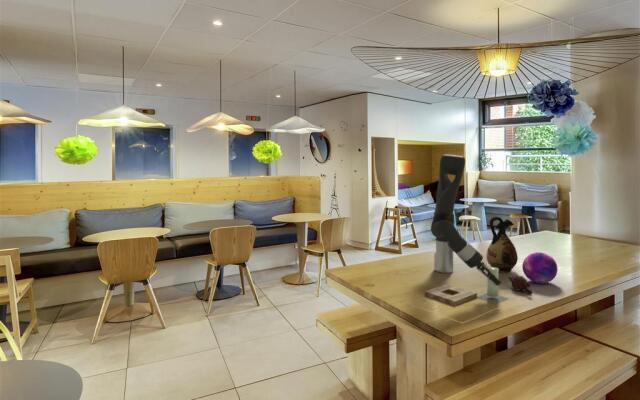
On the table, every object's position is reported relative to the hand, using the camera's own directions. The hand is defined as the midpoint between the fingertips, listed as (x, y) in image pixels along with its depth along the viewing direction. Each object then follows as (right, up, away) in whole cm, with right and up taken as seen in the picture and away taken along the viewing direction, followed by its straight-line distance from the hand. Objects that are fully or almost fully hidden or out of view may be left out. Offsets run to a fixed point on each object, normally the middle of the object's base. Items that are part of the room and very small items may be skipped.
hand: (497, 282), depth 166 cm
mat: (-2, -8, +1) cm, 8 cm away
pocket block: (-19, -8, +5) cm, 21 cm away
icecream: (+16, -6, +12) cm, 20 cm away
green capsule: (-2, -6, +1) cm, 6 cm away
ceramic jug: (+21, -3, +43) cm, 48 cm away
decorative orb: (+31, -5, +21) cm, 37 cm away
